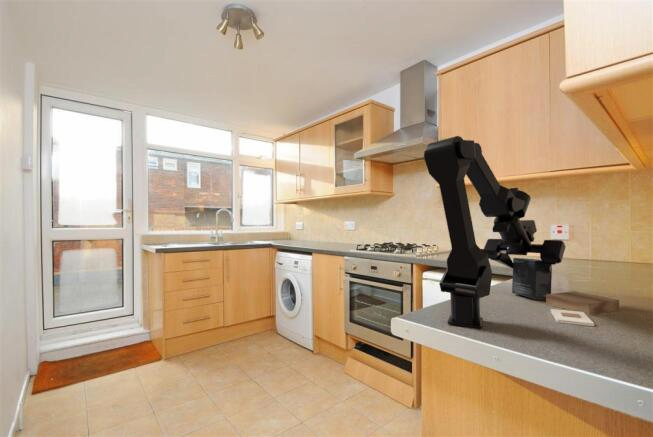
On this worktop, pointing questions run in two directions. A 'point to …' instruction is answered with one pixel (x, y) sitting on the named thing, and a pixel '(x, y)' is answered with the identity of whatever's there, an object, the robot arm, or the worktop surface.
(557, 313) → the card
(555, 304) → the walnut slab
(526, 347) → the worktop surface
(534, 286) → the box
